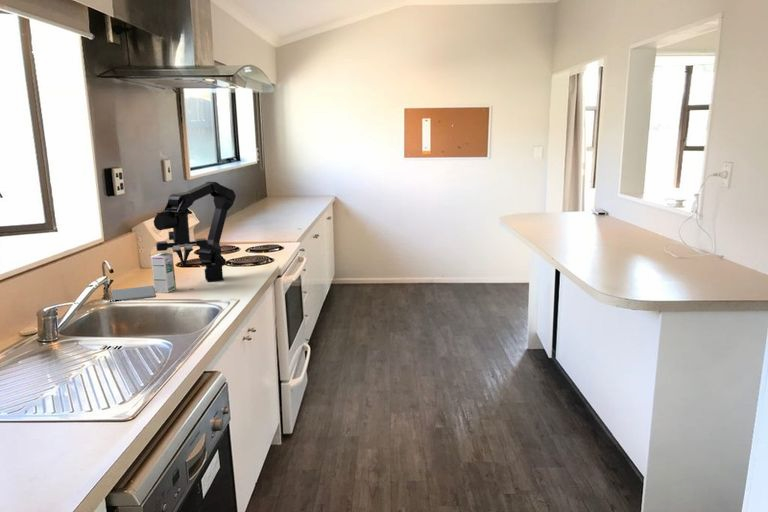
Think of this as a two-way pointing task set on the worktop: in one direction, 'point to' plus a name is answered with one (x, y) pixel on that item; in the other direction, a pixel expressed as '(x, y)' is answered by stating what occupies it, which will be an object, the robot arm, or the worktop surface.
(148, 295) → the mat
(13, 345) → the worktop surface
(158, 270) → the syrup box
